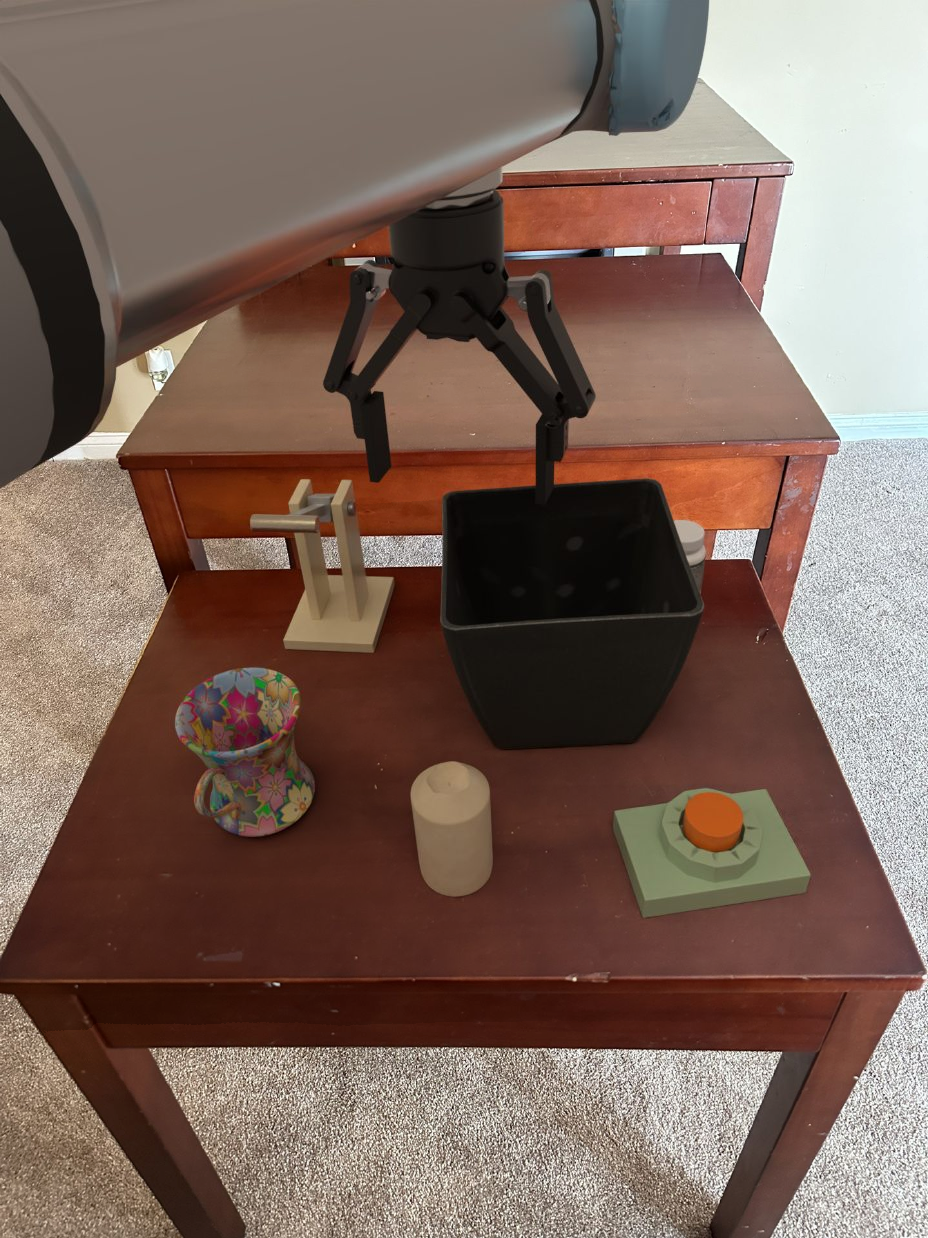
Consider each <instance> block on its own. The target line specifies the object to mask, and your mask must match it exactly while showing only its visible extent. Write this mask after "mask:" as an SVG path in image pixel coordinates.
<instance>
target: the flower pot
mask: <svg viewBox="0 0 928 1238" xmlns="http://www.w3.org/2000/svg"><path fill="white" fill-rule="evenodd" d="M535 494H536V484H535V485H521V486H509V487H508V486H507V487H492V488H476V489H475V488H474V489H463V490H454V491H453V490H452V491H449V492H446V493H445V494H444V495H443V496H442V498H441V522H442V523H441V525H442V527H441V529H442V532H441V533H442V539H441V540H442V541H441V542H442V545H441V548H442V549H441V551H442V552H441V585H440V586H441V589H440V591H441V593H440V617H439V618H440V626H441V630H442V634H443V638H444V641H445V644H446V647H447V651H448V655H449V658H450V661H451V663H452V666H453V669H454V672H455V675H456V677H457V679H458V681H459V682H458V683H459V685H460V687H461V688H460V689H461V690H462V692H463V694H464V697H465V699H466V701H467V703H468V706H469V707H470V709H471V710H472V713H473V716H475V718H476V720H477V722H478V724H479V725H480V727H481V729H482V730H483V732H484V733H485V735H486V736H487V738H488V739H489V741H490V742H491V744H492V745H493V746H494V747H495V748H497V749H499V750H505V751H506V750H518V749H519V750H521V749H522V750H523V749H540V748H560V747H561V748H563V747H579V746H580V747H581V746H601V745H617V744H618V745H619V744H632V743H635V742H638V740H639V739H640V738H641V737H642V736H643V735H644V734H645V732H646V731H647V730H648V729H649V727H650V725H651V724H652V722H653V721H654V719H656V717H657V715H658V713H659V712H660V711H661V709H662V707H663V705H664V704H665V702H666V701H667V699H668V697H669V696H670V694H671V692H672V690H673V689H674V686H675V684H676V683H677V681H678V678H679V677H680V674H681V672H682V669H683V667H684V665H685V663H686V660H687V658H688V656H689V653H690V651H691V649H692V646H693V643H694V640H695V637H696V635H697V633H698V629H699V626H700V623H701V619H702V617H703V613H704V610H705V603H704V600H703V597H702V595H701V594H700V592H699V589H698V587H697V584H696V581H695V578H694V576H693V573H692V570H691V568H690V565H689V562H688V560H687V557H686V554H685V551H684V549H683V546H682V543H681V540H680V537H679V535H678V532H677V529H676V526H675V523H674V517H673V513H672V511H671V508H670V505H669V502H668V499H667V497H666V494H665V491H664V488H663V485H662V483H661V482H660V481H658V480H656V479H654V478H630V479H612V480H599V481H598V480H597V481H584V482H583V481H582V482H580V481H579V482H565V483H554V488H553V490H552V492H551V494H550V496H549V498H548V500H547V502H546V504H545V505H542V504H535Z"/></svg>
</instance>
